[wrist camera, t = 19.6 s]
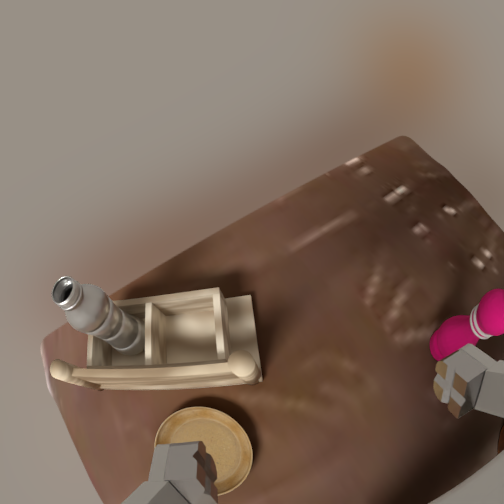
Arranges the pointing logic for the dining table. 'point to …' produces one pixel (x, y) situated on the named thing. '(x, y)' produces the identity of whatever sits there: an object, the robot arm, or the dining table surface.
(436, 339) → the magenta pepper grinder
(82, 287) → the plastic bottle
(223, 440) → the plant saucer
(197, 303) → the wooden compartment rack
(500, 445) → the brown flower pot
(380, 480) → the dining table surface
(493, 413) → the robot arm
